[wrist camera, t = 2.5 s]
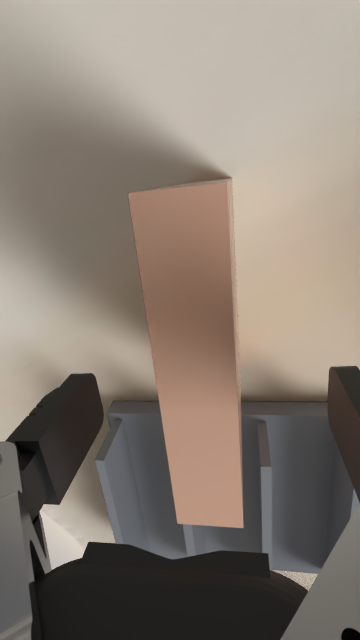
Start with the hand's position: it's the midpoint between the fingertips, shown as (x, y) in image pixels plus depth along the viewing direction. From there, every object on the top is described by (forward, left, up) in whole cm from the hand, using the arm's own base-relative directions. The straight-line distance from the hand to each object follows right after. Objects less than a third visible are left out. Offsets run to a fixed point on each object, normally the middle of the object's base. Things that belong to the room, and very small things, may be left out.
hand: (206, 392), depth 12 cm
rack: (+16, 0, -11) cm, 20 cm away
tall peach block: (-1, 0, -11) cm, 11 cm away
